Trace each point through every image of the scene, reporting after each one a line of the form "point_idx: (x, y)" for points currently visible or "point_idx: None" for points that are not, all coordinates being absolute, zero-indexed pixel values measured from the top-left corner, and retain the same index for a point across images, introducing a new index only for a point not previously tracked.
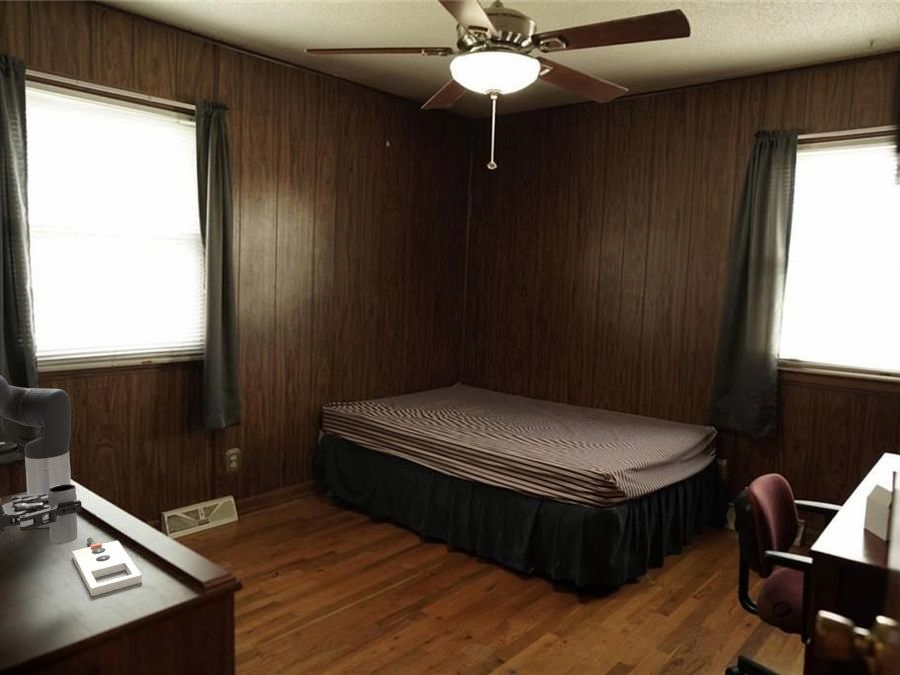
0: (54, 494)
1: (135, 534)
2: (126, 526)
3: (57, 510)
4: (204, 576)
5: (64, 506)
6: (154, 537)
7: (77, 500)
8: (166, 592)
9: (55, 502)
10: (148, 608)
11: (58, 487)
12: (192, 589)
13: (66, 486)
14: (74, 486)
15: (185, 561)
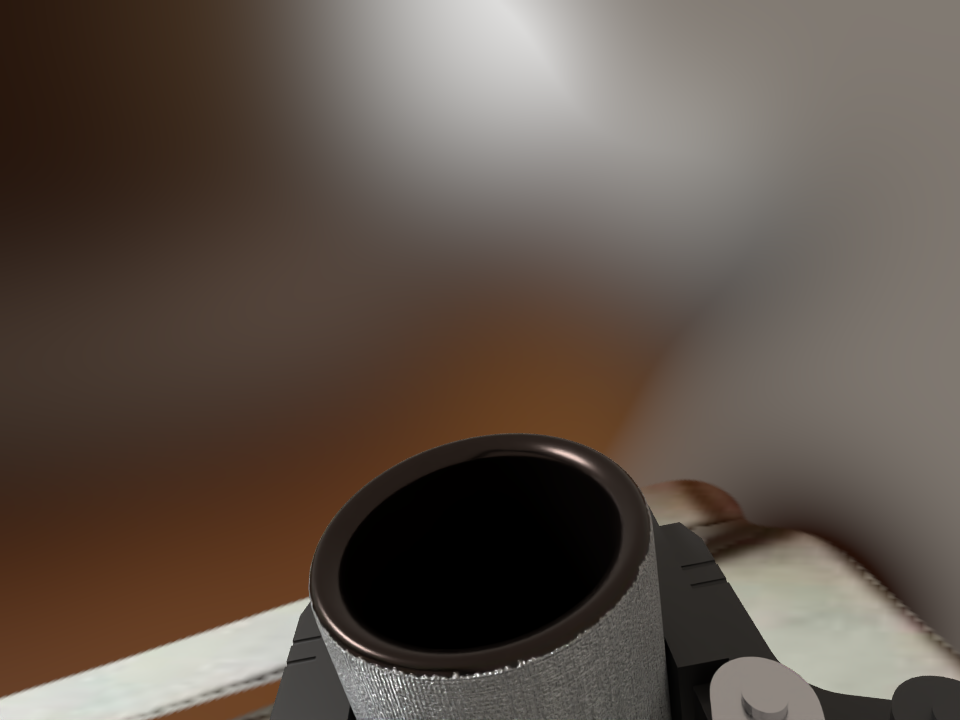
0: (643, 606)
1: (167, 687)
2: (53, 716)
3: (837, 706)
4: (668, 516)
5: (737, 623)
6: (260, 628)
7: None
8: (762, 609)
9: (654, 693)
10: (904, 670)
11: (351, 580)
12: (757, 544)
13: (375, 515)
14: (494, 435)
15: None
